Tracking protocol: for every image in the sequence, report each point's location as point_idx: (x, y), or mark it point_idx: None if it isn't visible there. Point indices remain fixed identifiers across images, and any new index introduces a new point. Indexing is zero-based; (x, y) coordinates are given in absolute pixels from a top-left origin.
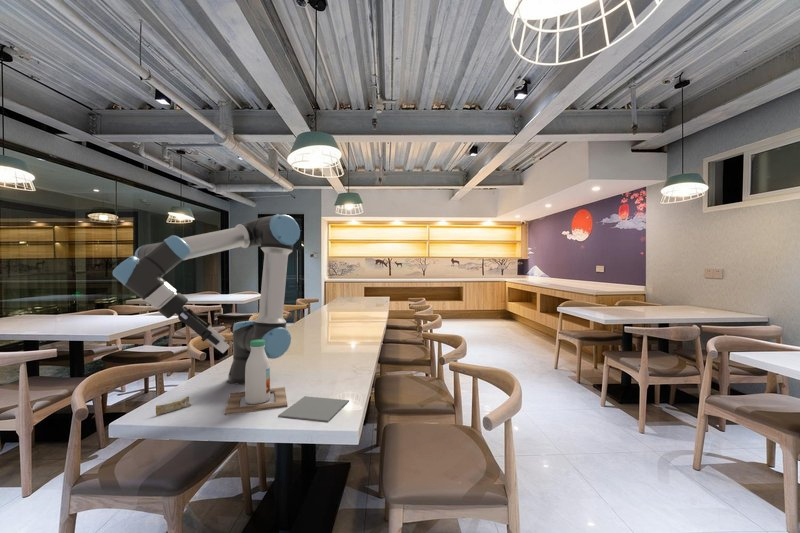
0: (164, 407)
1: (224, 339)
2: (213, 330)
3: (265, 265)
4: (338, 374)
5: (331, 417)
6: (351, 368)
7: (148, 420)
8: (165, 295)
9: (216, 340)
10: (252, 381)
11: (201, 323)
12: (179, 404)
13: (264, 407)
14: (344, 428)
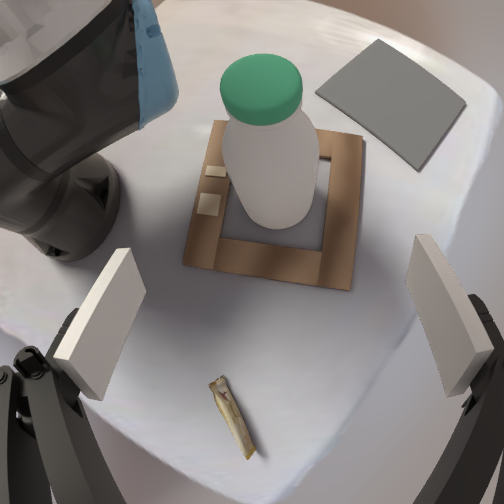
0: (243, 438)
1: (131, 254)
2: (90, 327)
3: None
4: (187, 20)
5: (453, 91)
6: (166, 3)
7: (279, 461)
8: None
9: (485, 315)
10: (311, 189)
11: (456, 487)
12: (231, 405)
13: (358, 188)
14: (489, 96)
